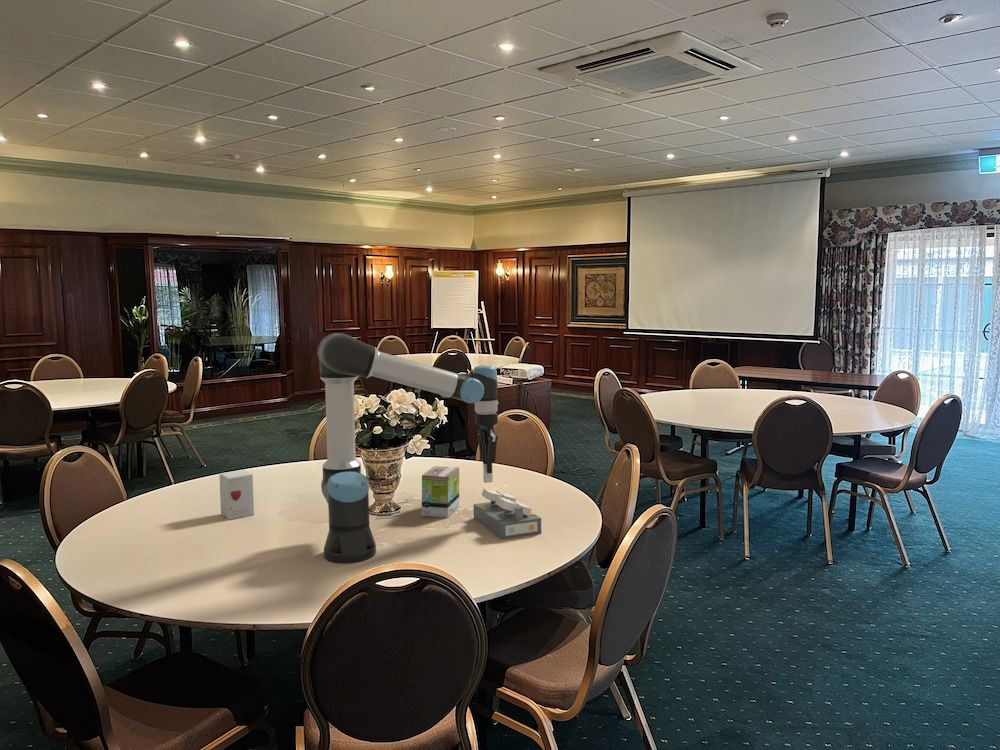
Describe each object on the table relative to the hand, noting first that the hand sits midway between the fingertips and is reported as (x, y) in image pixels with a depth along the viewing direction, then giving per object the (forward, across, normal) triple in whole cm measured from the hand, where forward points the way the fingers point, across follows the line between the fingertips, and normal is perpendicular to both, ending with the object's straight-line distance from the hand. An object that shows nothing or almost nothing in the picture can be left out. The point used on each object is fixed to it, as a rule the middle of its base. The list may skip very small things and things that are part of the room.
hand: (488, 481), depth 233 cm
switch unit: (+14, -6, -4) cm, 16 cm away
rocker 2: (+7, -12, -3) cm, 14 cm away
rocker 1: (+7, 0, -3) cm, 8 cm away
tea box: (+14, +19, +11) cm, 26 cm away
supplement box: (+13, +45, +78) cm, 91 cm away
